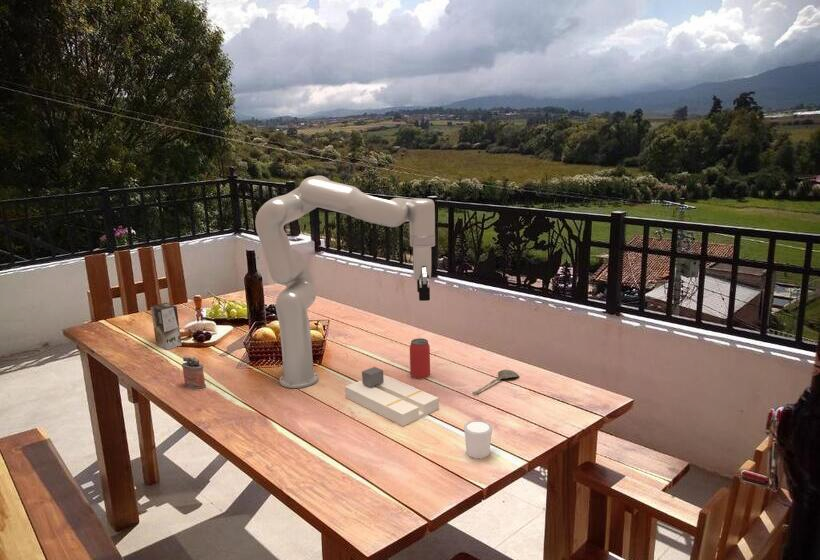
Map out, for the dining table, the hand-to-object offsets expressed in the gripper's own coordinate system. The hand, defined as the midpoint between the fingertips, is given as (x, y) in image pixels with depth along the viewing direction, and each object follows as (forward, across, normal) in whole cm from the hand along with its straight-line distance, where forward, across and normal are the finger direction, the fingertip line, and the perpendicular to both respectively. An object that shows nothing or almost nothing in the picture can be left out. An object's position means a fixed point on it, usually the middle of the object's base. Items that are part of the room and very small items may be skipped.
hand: (423, 296), depth 172 cm
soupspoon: (+30, +2, +22) cm, 37 cm away
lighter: (+30, -6, -74) cm, 80 cm away
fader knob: (+28, +6, -16) cm, 33 cm away
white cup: (+29, +41, +10) cm, 52 cm away
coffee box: (+30, -46, -98) cm, 112 cm away
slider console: (+29, +12, -11) cm, 33 cm away
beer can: (+29, -7, -1) cm, 30 cm away
